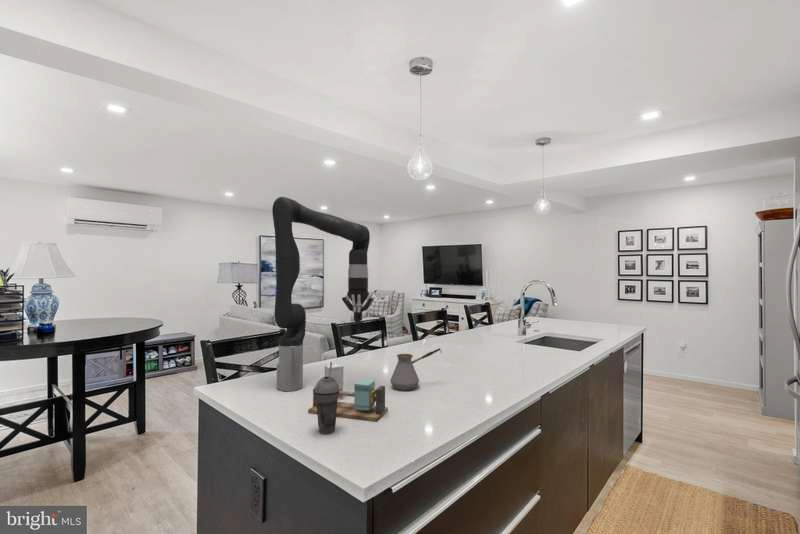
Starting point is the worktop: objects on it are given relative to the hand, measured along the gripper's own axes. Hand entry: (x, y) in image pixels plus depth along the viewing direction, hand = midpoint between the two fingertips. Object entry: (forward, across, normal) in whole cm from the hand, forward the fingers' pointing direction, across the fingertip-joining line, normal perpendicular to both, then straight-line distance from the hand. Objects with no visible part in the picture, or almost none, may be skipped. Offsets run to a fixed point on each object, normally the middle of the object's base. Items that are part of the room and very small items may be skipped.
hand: (358, 322), depth 148 cm
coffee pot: (+27, +19, +15) cm, 36 cm away
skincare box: (+27, -6, -8) cm, 29 cm away
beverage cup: (+27, +6, -35) cm, 44 cm away
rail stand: (+27, +5, -19) cm, 33 cm away
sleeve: (+25, +11, -19) cm, 33 cm away
